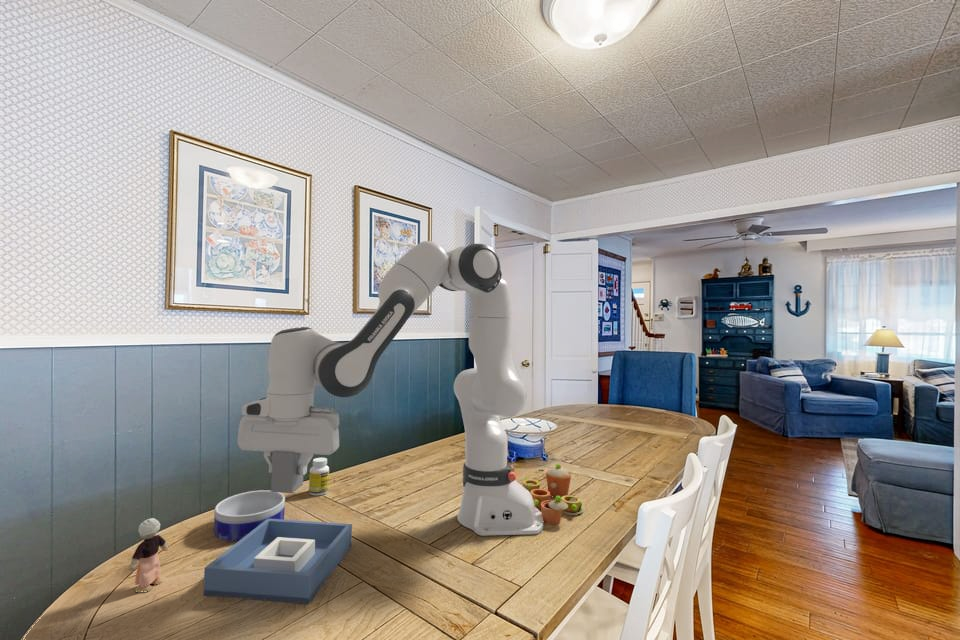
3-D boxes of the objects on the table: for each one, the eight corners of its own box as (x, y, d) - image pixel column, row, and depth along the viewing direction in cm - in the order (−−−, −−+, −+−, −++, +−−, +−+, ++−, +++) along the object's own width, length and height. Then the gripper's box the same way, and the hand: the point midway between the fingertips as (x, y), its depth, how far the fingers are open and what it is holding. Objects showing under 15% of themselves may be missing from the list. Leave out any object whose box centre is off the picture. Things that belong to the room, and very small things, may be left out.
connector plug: (302, 485, 89) (304, 442, 89) (292, 493, 85) (293, 448, 85) (282, 483, 90) (284, 441, 90) (270, 491, 85) (272, 446, 85)
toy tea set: (515, 489, 133) (516, 458, 133) (562, 487, 136) (563, 457, 136) (540, 529, 107) (541, 491, 108) (598, 526, 110) (599, 489, 110)
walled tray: (351, 546, 96) (351, 524, 96) (308, 603, 76) (309, 575, 76) (267, 540, 98) (267, 518, 98) (203, 595, 78) (204, 567, 78)
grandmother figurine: (149, 575, 83) (152, 510, 83) (170, 575, 84) (172, 510, 84) (120, 601, 76) (122, 529, 76) (142, 600, 76) (145, 529, 76)
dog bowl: (250, 547, 95) (251, 520, 95) (197, 536, 99) (198, 510, 99) (297, 518, 110) (298, 494, 110) (250, 509, 114) (250, 486, 114)
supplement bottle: (321, 497, 123) (322, 463, 123) (305, 495, 124) (306, 461, 124) (332, 490, 128) (333, 457, 128) (315, 488, 129) (316, 455, 129)
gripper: (345, 405, 90) (343, 471, 90) (253, 400, 91) (250, 465, 91) (332, 411, 83) (330, 481, 83) (234, 406, 85) (231, 475, 85)
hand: (287, 473), depth 87 cm, fingers closed on connector plug, 4 cm apart
